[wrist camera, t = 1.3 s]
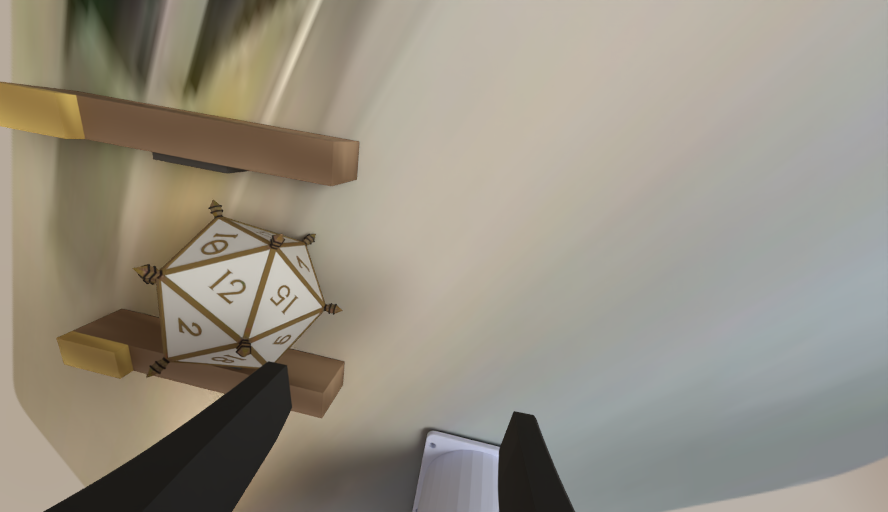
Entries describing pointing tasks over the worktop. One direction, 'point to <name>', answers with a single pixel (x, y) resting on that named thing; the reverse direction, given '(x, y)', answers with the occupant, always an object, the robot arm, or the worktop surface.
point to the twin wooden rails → (202, 146)
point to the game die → (235, 296)
